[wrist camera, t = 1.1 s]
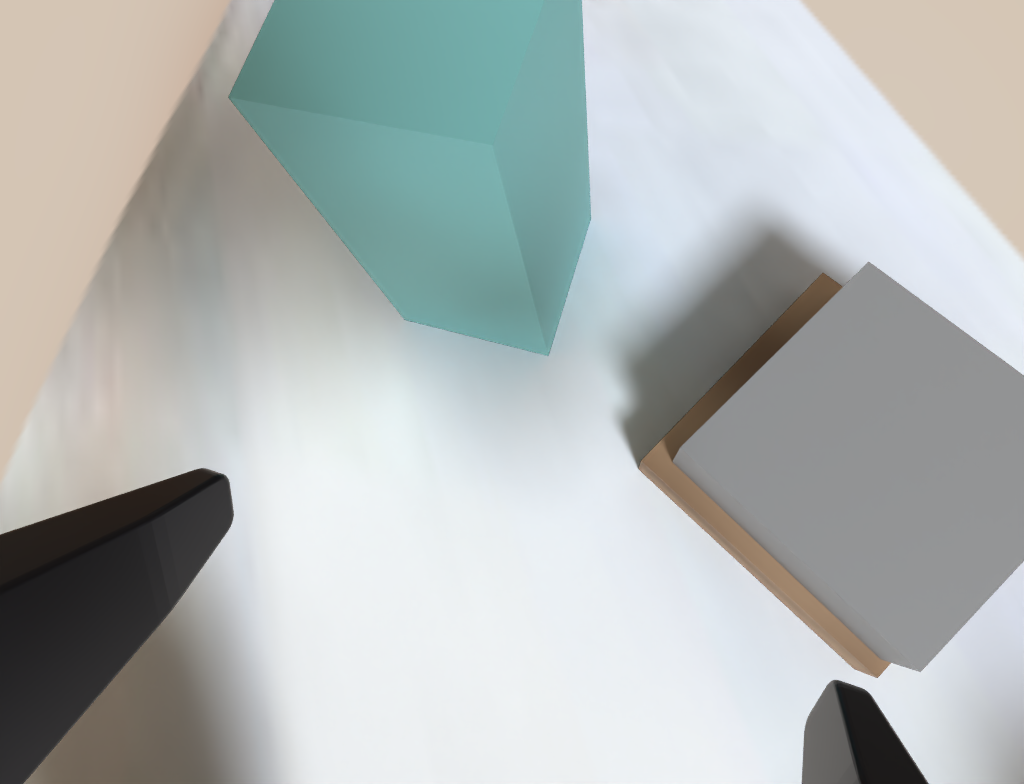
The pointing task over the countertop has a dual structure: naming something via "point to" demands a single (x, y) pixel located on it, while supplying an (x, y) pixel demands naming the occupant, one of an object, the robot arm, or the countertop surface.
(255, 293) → the countertop surface
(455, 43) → the column
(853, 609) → the tower top
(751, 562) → the tower base
